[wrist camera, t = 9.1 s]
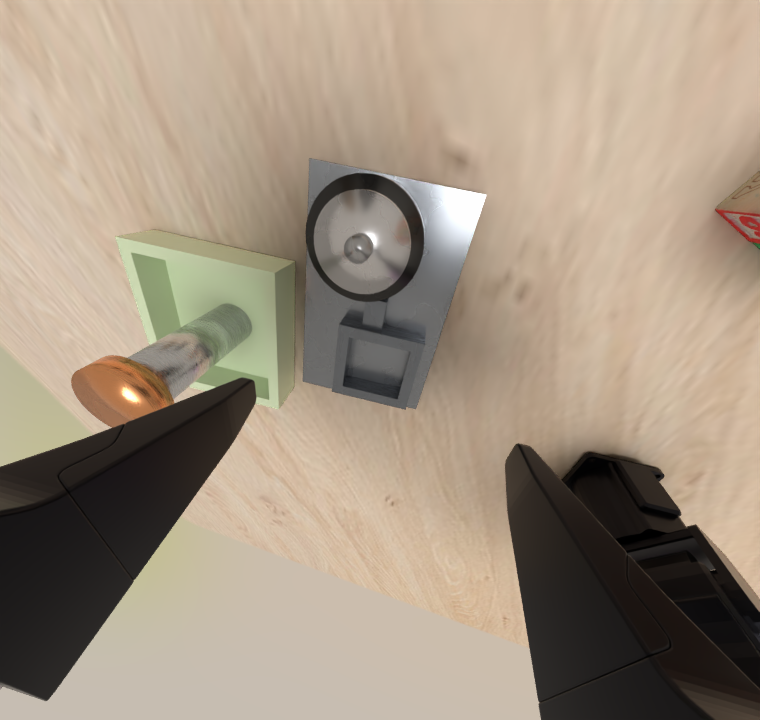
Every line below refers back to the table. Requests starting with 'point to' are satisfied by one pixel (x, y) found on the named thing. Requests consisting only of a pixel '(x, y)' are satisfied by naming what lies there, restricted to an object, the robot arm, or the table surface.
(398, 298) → the tensioner
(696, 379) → the table surface
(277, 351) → the tray
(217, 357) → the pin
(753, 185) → the stack of blocks
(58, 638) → the robot arm
